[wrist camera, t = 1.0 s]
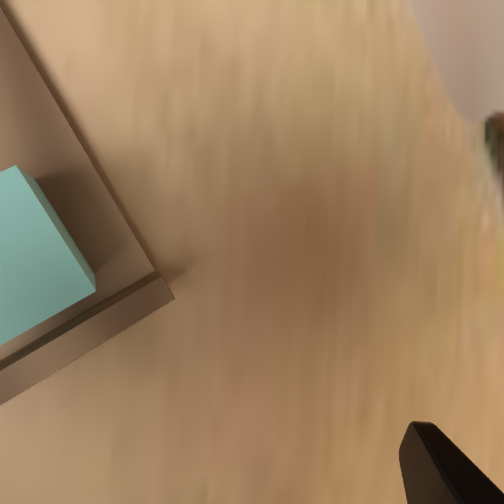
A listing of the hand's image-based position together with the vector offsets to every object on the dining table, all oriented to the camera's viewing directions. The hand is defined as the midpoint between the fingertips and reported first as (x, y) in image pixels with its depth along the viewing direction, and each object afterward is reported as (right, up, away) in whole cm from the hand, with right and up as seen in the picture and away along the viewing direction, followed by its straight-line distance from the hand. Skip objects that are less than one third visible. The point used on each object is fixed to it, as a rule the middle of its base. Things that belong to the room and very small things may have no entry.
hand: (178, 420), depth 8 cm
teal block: (-9, +3, +10) cm, 14 cm away
